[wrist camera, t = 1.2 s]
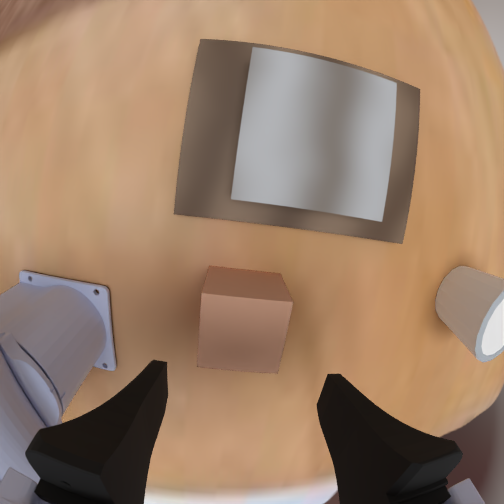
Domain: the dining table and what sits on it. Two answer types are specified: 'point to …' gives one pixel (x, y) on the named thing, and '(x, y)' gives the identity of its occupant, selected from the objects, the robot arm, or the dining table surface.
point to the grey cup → (473, 310)
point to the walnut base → (222, 140)
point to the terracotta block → (243, 320)
